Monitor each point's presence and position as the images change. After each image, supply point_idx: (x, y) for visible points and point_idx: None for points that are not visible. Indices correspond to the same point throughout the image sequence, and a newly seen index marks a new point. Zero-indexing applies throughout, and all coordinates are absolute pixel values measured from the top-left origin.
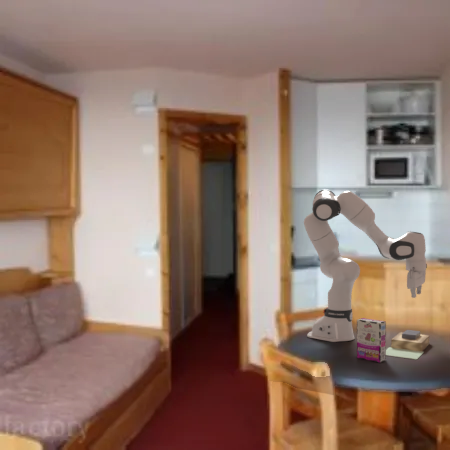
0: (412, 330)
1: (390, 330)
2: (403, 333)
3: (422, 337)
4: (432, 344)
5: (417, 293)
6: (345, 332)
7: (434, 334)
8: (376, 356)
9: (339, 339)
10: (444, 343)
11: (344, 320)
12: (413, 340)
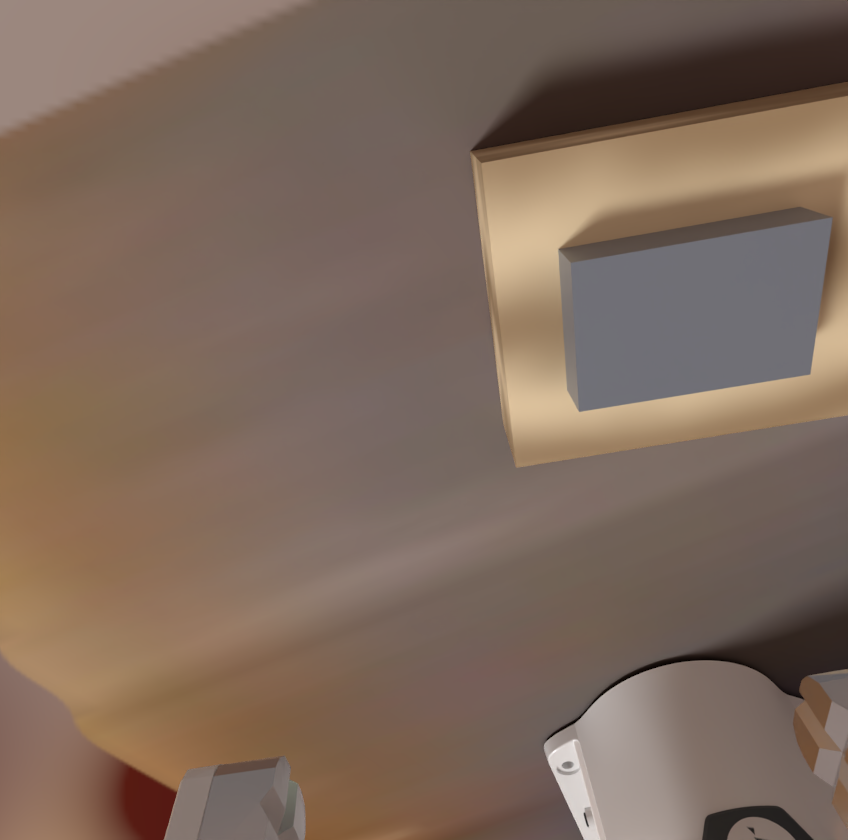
0: (580, 351)
1: (217, 611)
2: (790, 366)
3: (641, 188)
4: (465, 113)
5: (298, 813)
6: (776, 731)
7: (16, 276)
8: None
9: (788, 703)
10: (326, 6)
11: (825, 834)
12: (845, 212)
